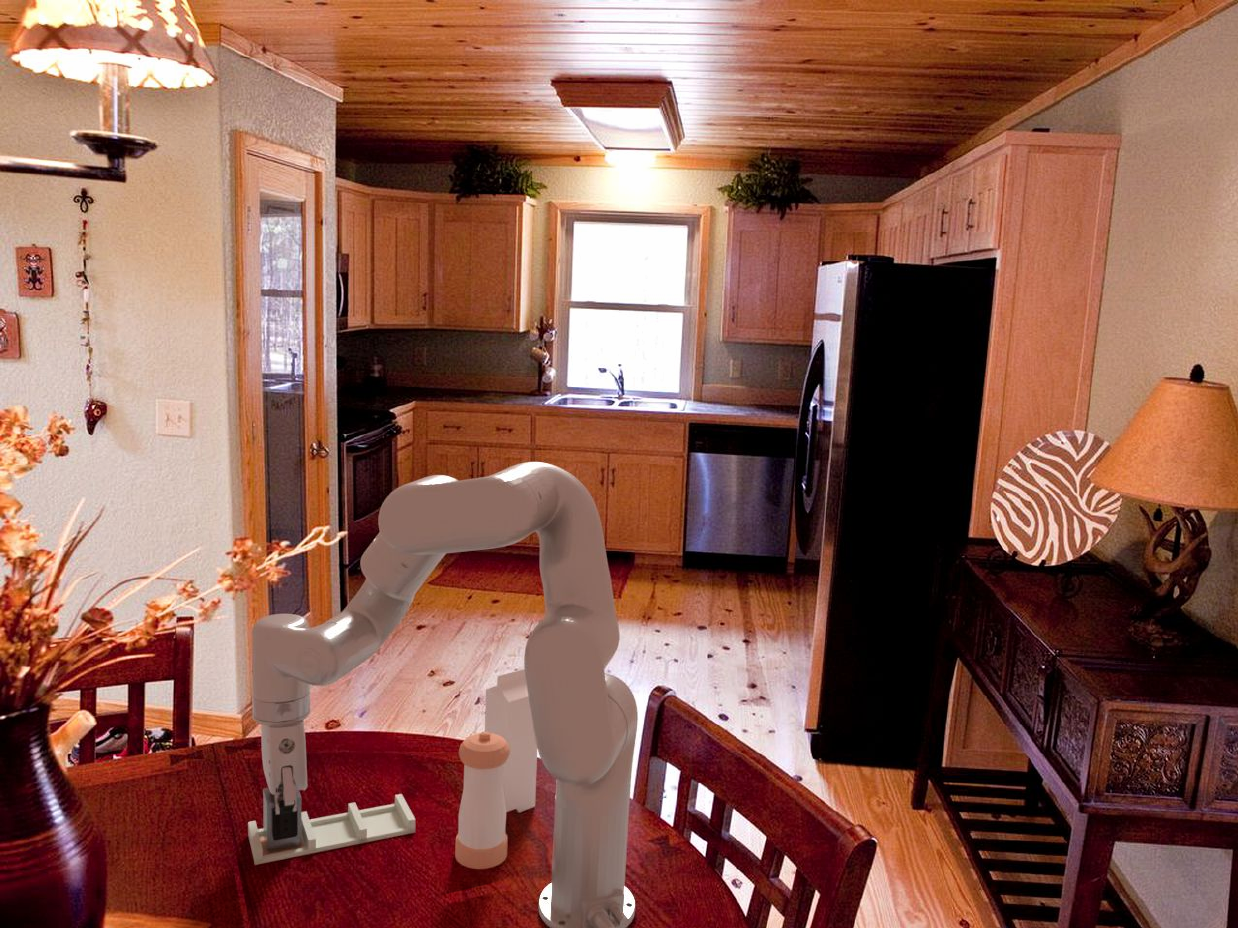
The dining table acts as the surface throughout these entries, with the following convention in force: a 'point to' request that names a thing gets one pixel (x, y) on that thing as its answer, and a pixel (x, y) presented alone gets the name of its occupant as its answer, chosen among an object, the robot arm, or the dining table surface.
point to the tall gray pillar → (268, 821)
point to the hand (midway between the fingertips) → (282, 826)
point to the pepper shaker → (482, 802)
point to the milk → (514, 738)
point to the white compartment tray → (338, 830)
